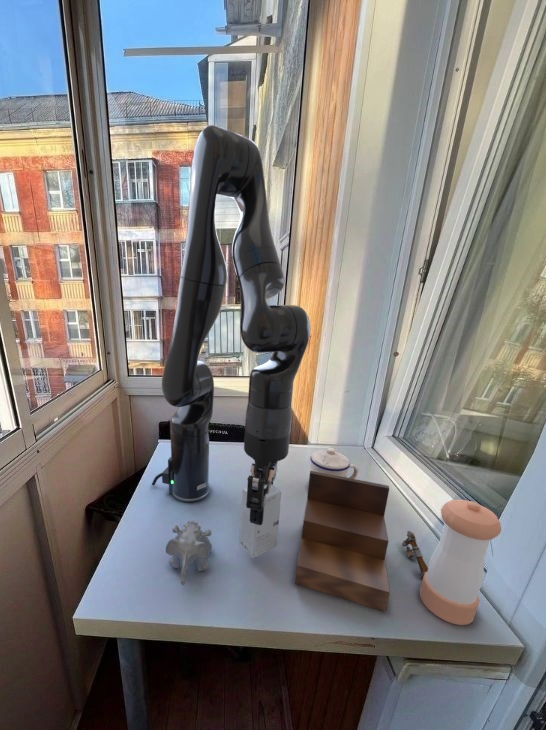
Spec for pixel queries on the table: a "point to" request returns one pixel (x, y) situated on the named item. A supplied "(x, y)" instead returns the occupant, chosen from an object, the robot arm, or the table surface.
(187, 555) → the elephant statuette
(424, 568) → the wooden post with brackets
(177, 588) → the table surface
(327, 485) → the shelf riser
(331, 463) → the teacup with lid
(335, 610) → the table surface
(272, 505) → the cosmetic box
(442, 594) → the salt shaker
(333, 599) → the table surface
